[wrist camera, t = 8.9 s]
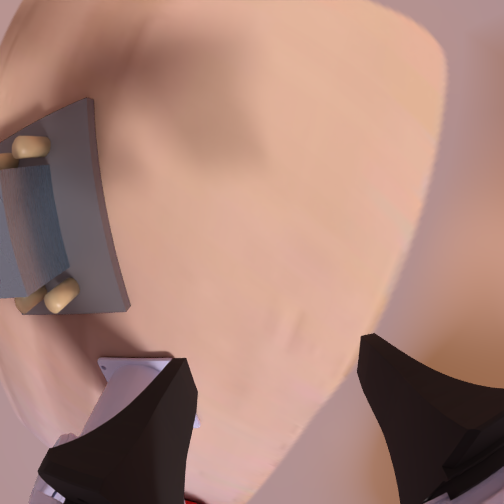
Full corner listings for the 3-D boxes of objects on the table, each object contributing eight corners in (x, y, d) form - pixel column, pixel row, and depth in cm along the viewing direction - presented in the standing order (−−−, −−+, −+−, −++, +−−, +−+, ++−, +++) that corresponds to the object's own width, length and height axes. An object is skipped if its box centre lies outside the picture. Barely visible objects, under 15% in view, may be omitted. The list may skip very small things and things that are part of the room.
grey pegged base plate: (130, 305, 20) (110, 332, 16) (27, 310, 20) (4, 329, 17) (93, 99, 15) (63, 89, 12) (-8, 152, 16) (-36, 154, 12)
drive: (70, 266, 18) (27, 296, 13) (31, 272, 18) (-9, 298, 13) (49, 164, 16) (-1, 169, 10) (11, 181, 16) (-35, 191, 11)
